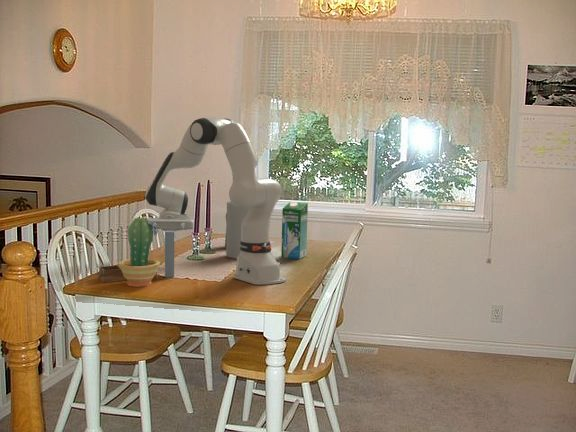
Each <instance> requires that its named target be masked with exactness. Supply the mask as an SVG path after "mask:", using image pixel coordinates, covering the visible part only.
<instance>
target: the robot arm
mask: <svg viewBox="0 0 576 432" xmlns="http://www.w3.org/2000/svg"><path fill="white" fill-rule="evenodd" d="M209 145H212V146H213V145H214V146H216V145H217V146H218V145H219V146H220V145H221V146H222V148H223V151H224V154H225V156H226V159H227V163H228V164H229V167H230V169H231V174H232V183H231V186H230V188H229V190H228V198H229V201H231V202H232V204H234V205H235V206H237V207H243V208H249V211H248V214H247V215H246V217H245V218H244V219H243V221H242V231H241V241H240V250H241V252H240V254H239V255H238V257H237V259H236V265H235V266H236V268H235V273H234V274H232V279H237V280H239V281H241V282H246V283H248V284H249V283H250V284H252V285H261V286H262V285H274V284H281V283H285V282H286V281H287V279H286V278H285V277H284V276H283V275H281V273H280V272H281V271H280V269H281V263H280V262H278V261H277V260H276V258H275V256H274V254H273V253H272V245H271V241H270V223H271V218H272V214H273V212H274V209H275V207H276V205H277V203H278V202H279V201H280V199H281V198H282V193H283V191H282V190H283V189H282V186H281V184H280V183H279V181H277V180H275V179H271V178H267V177H264V178H257V175H256V167H257V166H258V162H259V160H258V157H257V154H256V153H255V149H254V147H253V145H252V143H251V140H250V138H249V136H248V134H247V133H246V131H245V129H244V128H243V126H242V124H240V123H238V122H235V120H232V119H230V118H222V117H221V118H219V117H201V118H197V119H195V120H193V122H191V124H190V125H189V126H188V127H187V128H186V131H185V133H184V135H183V137H182V139H181V143H180V145H179V147H178V148H177V149H176V150H175V151H172V152H169V154H167V156H166V158H165V159H164V161H163V162H162V164H161V165H160V167H159V169H158V171H157V173H156V175H155V177H154V179H152V182H151V183H150V185H149V186H148V187H147V189H146V191H145V195H144V197H145V201H147V203H148V204H149V206H153V207H154V206H155V207H159V208H163V210H161V211H160V214H159V215H158V217H148V218H147V217H146V218H147V220H148V221H152V222H154V224H155V226H156V228H157V230H161V231H164V232H165V231H174V232H177V231H185V230H186V231H187V230H194V219H193V218H192V217H190V215H189V214H185V213H186V211H187V208H188V204H189V197H188V194H187V192H186V191H183V190H181V189H179V188H174V187H172V186H171V187H170V186H168V185H165V184H163V183H164V181H166V178H167V176H168V175H169V173H170V172H172V171H173V170H177V169H179V170H180V169H193V168H195V167H197V166H199V165H201V163H202V162H203V160H204V157H205V155H206V152H207V150H208V146H209Z"/></svg>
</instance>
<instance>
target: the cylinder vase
mask: <svg viewBox="0 0 576 432" xmlns="http://www.w3.org/2000/svg"><path fill="white" fill-rule="evenodd" d="M248 211H249V208H243V207H237V206H235V205H234V204H232V202H231V201H230V200H229V201H227V202H226V213H227V228H226V227H225V239H226V247H225V249H226V251H225V254H226V255H225V256H226V257H227V258H230V259H236V260H237V257H238V255H239V254H240V252H241V250H240V241H241V231H242V221H243V219H244V218H245V217H246V215H247V214H248Z"/></svg>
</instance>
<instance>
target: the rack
mask: <svg viewBox="0 0 576 432" xmlns="http://www.w3.org/2000/svg"><path fill="white" fill-rule="evenodd" d="M97 278H98V279H99V280H100V281H101V282H102V283H110V282H111V283H112V282H121V281H122V282H123V281H127V280H126V278H125V277H124V276H123V273H122V270H121V269H120V268H119V265H106V266H105V265H104V266H103V265H102V266H99V267H98V273H97ZM154 278H158V272H157V271H156V274H155V276H154V277H153V279H154Z"/></svg>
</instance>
